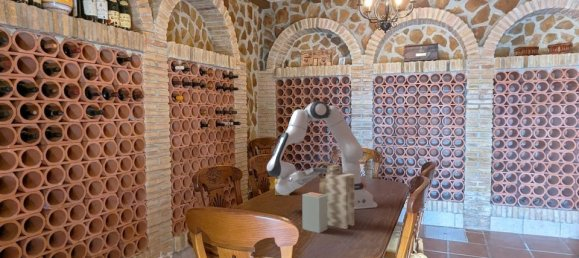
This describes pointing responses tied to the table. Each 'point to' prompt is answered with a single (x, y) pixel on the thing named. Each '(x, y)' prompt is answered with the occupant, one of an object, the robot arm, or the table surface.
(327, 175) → the beige patterned tall block
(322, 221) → the grey-green upright block
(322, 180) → the ceramic vessel
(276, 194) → the cheese
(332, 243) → the table surface
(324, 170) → the strip
